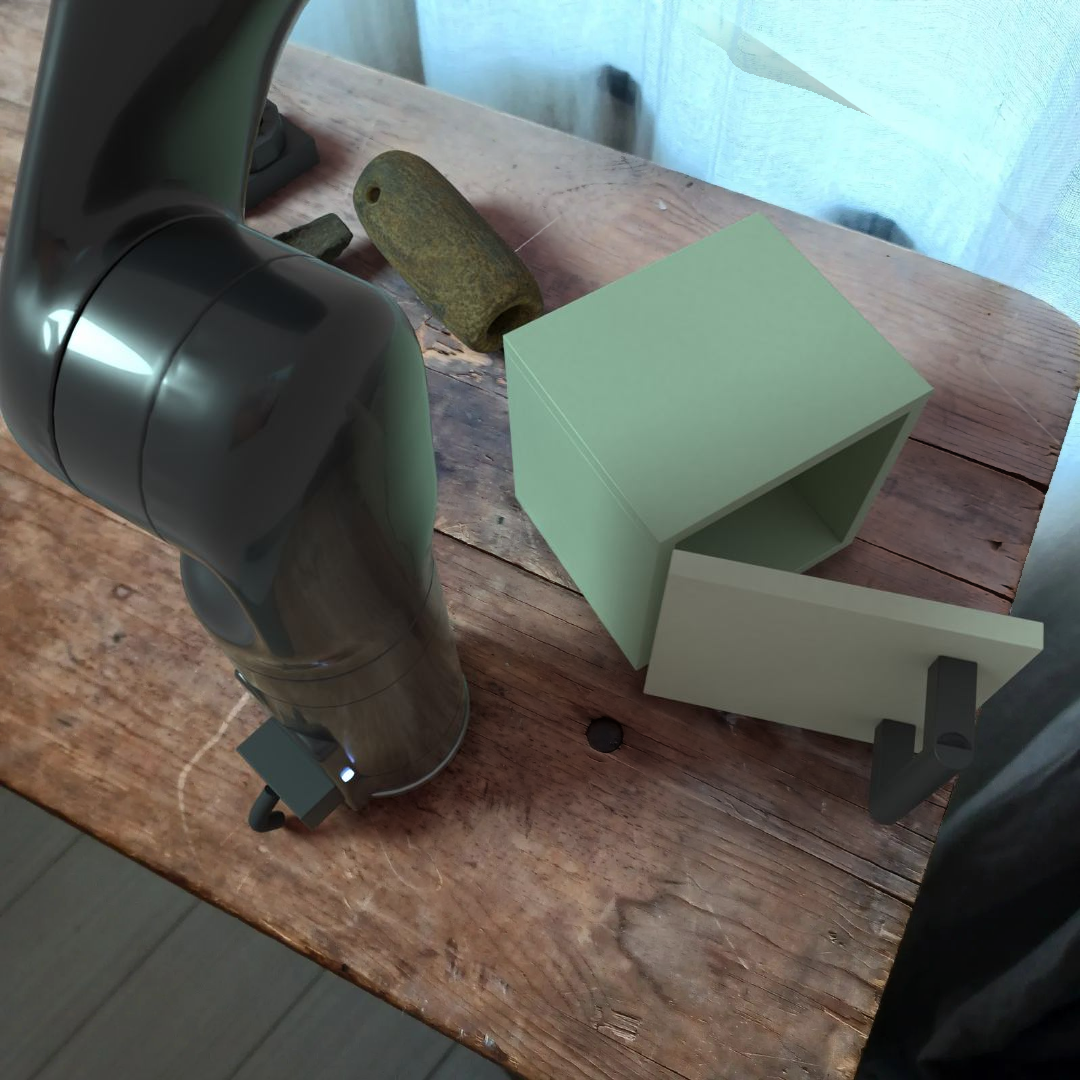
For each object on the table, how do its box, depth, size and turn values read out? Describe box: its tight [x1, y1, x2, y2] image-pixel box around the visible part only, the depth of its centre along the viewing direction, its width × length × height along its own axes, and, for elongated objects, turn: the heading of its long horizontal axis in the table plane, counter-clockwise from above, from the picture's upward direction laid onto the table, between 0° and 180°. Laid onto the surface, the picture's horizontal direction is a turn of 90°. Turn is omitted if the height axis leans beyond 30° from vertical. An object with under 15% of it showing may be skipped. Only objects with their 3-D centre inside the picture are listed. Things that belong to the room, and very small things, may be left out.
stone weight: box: [352, 149, 545, 354], centre depth 66 cm, size 15×7×7 cm, turn 40°
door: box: [642, 549, 1045, 826], centre depth 47 cm, size 6×15×15 cm, turn 77°
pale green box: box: [503, 210, 935, 671], centre depth 54 cm, size 13×15×15 cm
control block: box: [245, 98, 321, 214], centre depth 73 cm, size 8×7×4 cm
